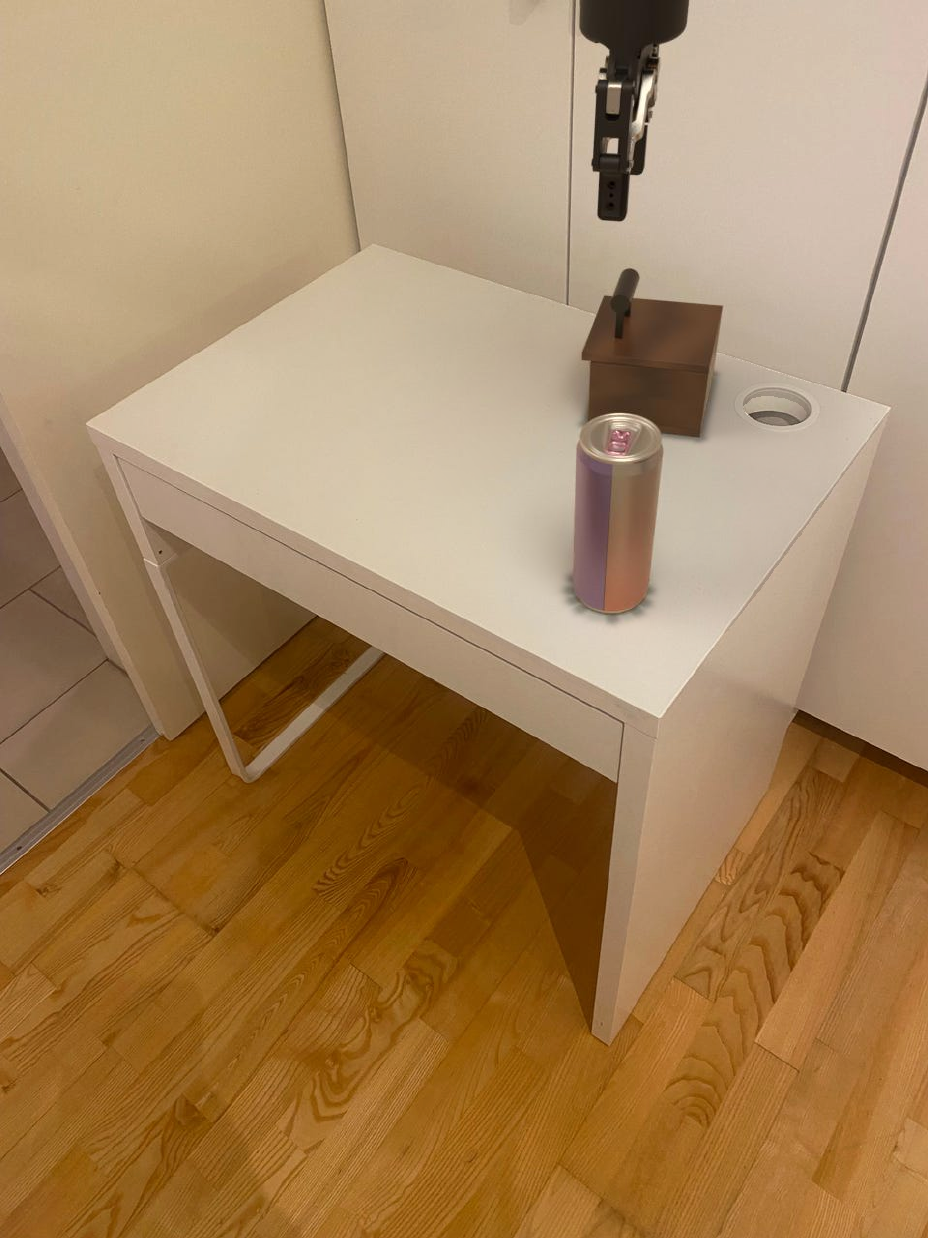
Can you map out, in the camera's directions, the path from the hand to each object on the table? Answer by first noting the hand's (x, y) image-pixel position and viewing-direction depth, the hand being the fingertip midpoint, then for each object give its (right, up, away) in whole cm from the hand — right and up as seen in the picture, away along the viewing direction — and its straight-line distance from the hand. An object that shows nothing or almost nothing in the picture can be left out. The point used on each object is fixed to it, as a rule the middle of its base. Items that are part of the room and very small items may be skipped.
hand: (621, 194), depth 76 cm
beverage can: (-1, -32, 0) cm, 32 cm away
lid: (+5, -7, +13) cm, 16 cm away
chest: (+6, -12, +18) cm, 22 cm away
